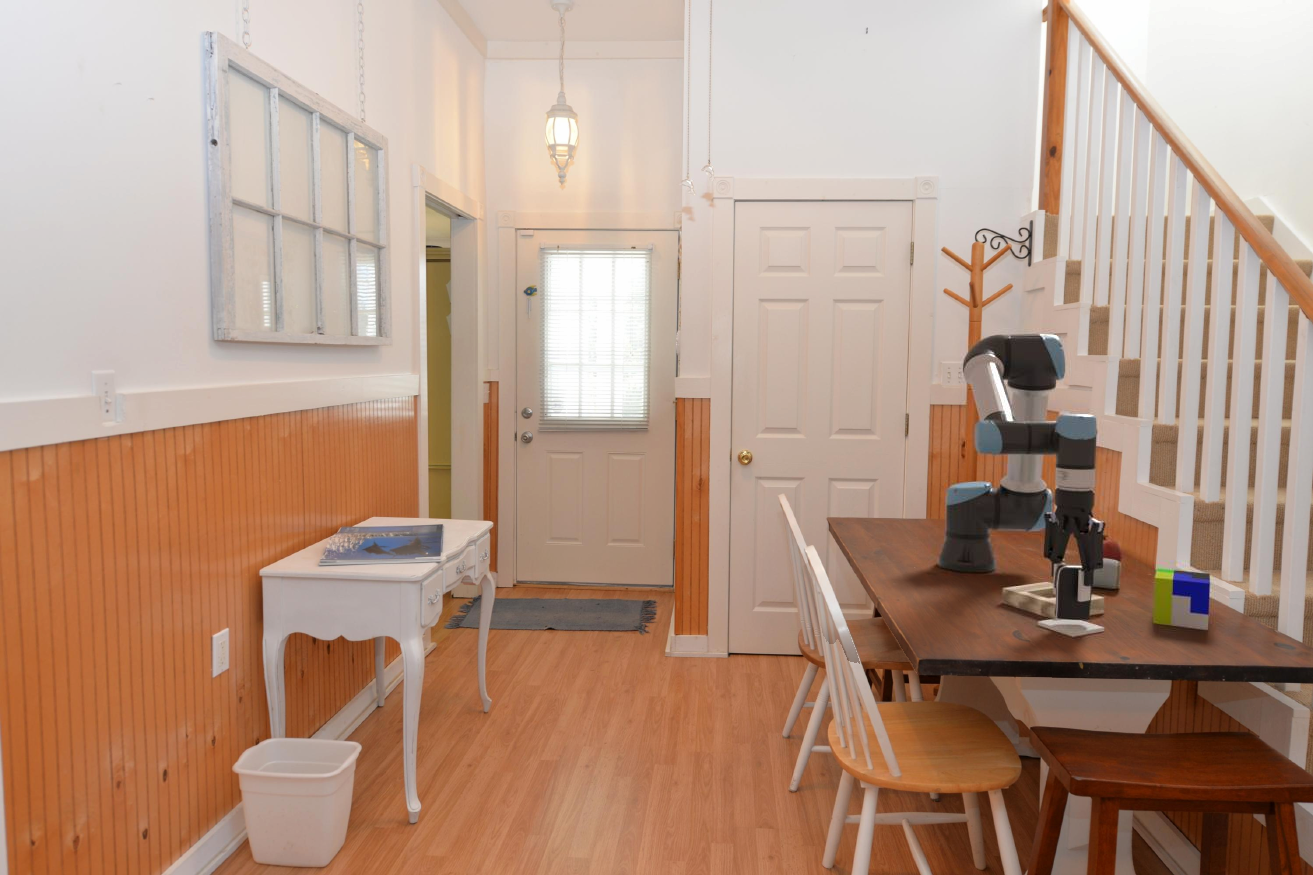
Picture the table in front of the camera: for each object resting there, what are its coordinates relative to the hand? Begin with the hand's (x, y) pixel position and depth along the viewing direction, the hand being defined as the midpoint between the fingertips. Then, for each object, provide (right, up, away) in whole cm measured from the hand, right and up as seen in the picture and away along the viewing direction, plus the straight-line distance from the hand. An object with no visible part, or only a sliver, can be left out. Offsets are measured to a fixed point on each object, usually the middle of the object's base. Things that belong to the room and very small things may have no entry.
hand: (1071, 596), depth 185 cm
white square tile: (0, -7, 0) cm, 7 cm away
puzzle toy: (+26, -6, +5) cm, 28 cm away
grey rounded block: (+24, -4, +35) cm, 43 cm away
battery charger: (0, -5, +1) cm, 5 cm away
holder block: (+3, -5, +16) cm, 17 cm away
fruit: (+32, -3, +50) cm, 59 cm away
